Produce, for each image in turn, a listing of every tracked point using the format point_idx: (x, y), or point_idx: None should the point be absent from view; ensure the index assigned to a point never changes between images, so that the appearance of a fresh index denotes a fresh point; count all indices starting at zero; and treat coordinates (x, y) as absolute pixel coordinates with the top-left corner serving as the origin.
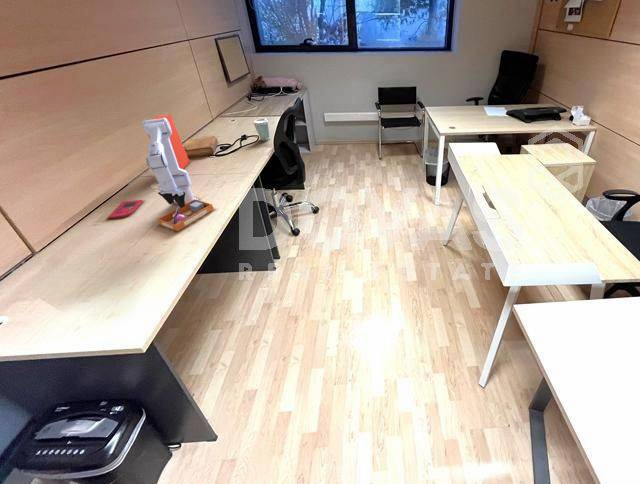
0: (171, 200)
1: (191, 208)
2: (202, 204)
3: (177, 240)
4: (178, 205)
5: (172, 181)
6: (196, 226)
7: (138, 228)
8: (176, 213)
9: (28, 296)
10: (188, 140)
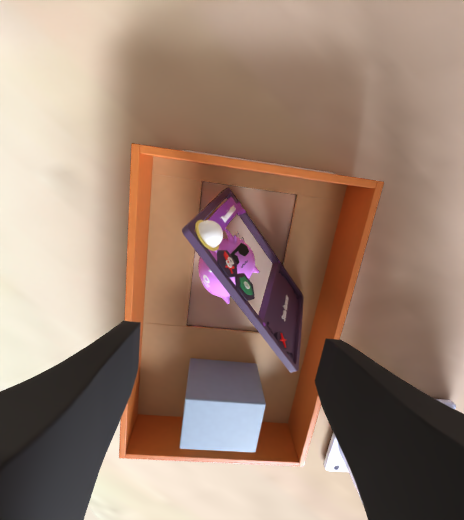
0: (336, 397)
1: (249, 382)
2: (180, 437)
3: (33, 37)
4: (123, 336)
5: None
6: (70, 241)
7: None
8: (324, 312)
9: None
10: None
